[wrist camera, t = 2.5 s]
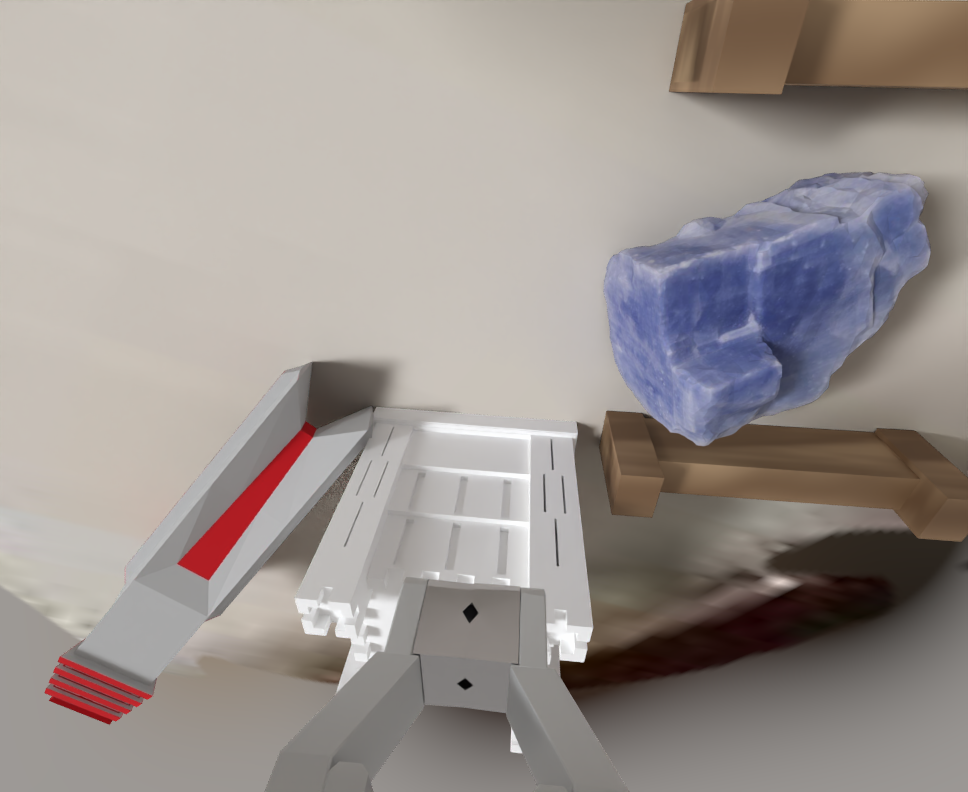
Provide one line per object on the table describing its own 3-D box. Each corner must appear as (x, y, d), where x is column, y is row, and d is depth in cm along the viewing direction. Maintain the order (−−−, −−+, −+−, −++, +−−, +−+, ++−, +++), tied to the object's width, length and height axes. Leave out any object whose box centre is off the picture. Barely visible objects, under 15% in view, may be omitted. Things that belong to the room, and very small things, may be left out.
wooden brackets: (686, 4, 21) (739, -26, 15) (1186, 10, 19) (1435, -20, 14) (599, 447, 34) (611, 514, 29) (891, 467, 33) (961, 541, 28)
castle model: (553, 554, 41) (562, 760, 28) (391, 539, 42) (330, 733, 29) (576, 421, 33) (602, 623, 21) (376, 406, 34) (285, 592, 21)
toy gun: (386, 380, 43) (379, 441, 29) (203, 596, 46) (116, 747, 32) (322, 331, 41) (281, 372, 27) (135, 561, 44) (9, 707, 30)
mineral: (682, 491, 24) (617, 333, 19) (626, 390, 32) (570, 260, 27) (1005, 369, 21) (1030, 139, 16) (853, 291, 29) (837, 122, 24)
